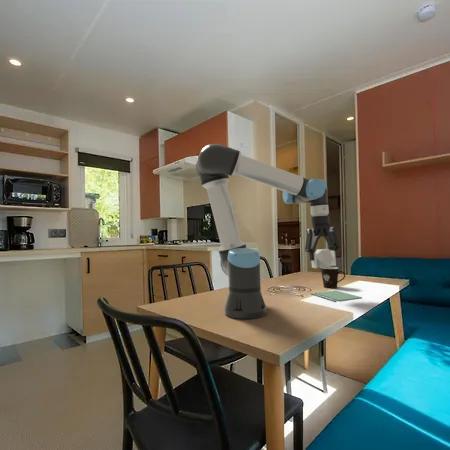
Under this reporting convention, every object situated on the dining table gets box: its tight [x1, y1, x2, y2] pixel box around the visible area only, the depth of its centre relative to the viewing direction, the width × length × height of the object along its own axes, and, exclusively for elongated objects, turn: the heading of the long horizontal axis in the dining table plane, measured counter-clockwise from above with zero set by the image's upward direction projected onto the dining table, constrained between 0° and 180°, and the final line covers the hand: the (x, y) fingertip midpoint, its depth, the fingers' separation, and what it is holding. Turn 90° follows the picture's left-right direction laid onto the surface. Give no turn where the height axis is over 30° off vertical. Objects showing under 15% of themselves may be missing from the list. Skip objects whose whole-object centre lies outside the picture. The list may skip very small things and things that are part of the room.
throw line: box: [310, 292, 337, 303], centre depth 124 cm, size 1×16×1 cm, turn 20°
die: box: [314, 248, 334, 269], centre depth 124 cm, size 8×9×10 cm
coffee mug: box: [320, 266, 346, 290], centre depth 145 cm, size 12×9×10 cm
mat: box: [314, 290, 363, 302], centre depth 127 cm, size 12×16×1 cm
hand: (323, 266), depth 124 cm, fingers closed on die, 9 cm apart
